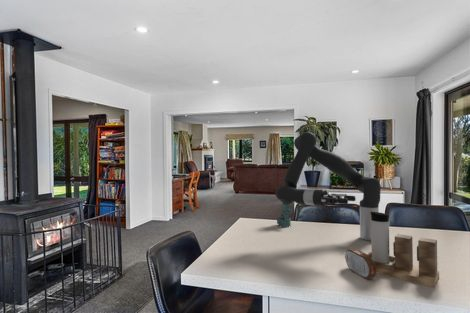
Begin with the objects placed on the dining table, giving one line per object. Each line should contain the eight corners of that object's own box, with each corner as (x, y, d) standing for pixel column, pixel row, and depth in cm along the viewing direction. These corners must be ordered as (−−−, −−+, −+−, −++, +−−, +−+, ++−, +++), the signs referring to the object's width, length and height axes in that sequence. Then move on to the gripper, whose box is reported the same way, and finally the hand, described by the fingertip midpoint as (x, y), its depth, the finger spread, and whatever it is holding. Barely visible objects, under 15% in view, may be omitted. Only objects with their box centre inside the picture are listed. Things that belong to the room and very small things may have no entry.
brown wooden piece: (361, 268, 110) (360, 233, 110) (370, 261, 118) (369, 227, 118) (434, 287, 94) (433, 245, 94) (439, 276, 102) (438, 238, 102)
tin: (377, 282, 98) (376, 258, 98) (369, 283, 97) (369, 258, 97) (350, 266, 113) (350, 245, 113) (343, 267, 112) (343, 245, 112)
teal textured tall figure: (289, 232, 172) (302, 193, 173) (273, 225, 174) (286, 188, 175) (289, 229, 186) (301, 193, 187) (274, 223, 188) (286, 188, 189)
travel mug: (367, 260, 113) (366, 210, 113) (383, 259, 113) (382, 210, 113) (376, 266, 106) (376, 213, 107) (393, 265, 107) (392, 213, 107)
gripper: (307, 191, 123) (344, 192, 113) (322, 187, 134) (357, 189, 123) (308, 208, 123) (345, 211, 112) (322, 203, 134) (357, 206, 123)
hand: (351, 199), depth 118 cm, fingers open, 8 cm apart
